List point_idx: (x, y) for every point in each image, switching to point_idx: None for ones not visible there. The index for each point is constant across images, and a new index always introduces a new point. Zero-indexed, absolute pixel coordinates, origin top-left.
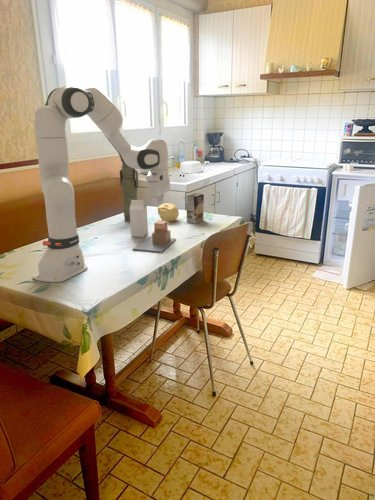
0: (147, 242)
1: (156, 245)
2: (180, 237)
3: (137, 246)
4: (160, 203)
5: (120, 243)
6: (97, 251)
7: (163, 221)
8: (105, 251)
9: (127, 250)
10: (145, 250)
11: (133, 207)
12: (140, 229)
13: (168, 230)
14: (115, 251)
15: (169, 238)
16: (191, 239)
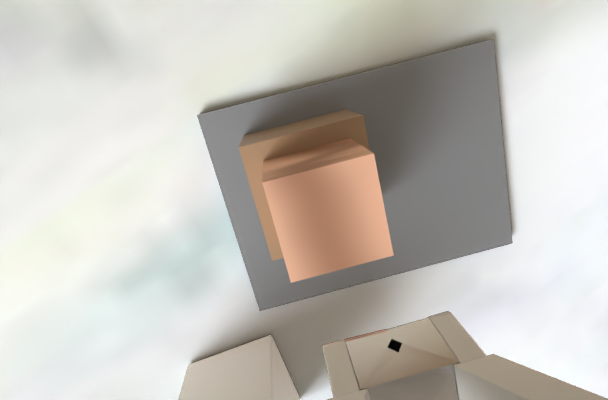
0: None
1: (401, 148)
2: (124, 120)
3: (467, 242)
4: (451, 320)
5: None
6: (583, 374)
7: (300, 207)
8: (571, 344)
9: (518, 260)
10: (502, 158)
11: None
12: (280, 388)
13: (253, 158)
14: (554, 303)
15: (266, 131)
16: (112, 8)
